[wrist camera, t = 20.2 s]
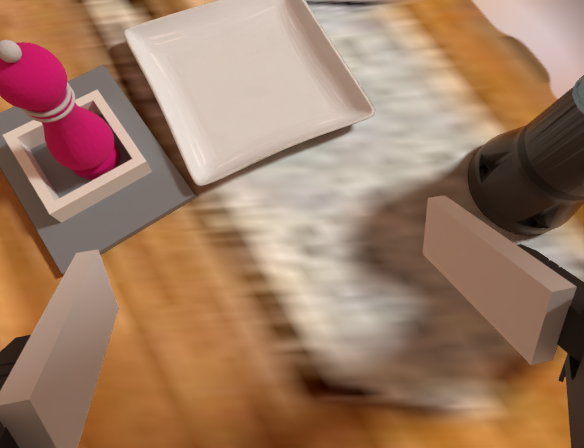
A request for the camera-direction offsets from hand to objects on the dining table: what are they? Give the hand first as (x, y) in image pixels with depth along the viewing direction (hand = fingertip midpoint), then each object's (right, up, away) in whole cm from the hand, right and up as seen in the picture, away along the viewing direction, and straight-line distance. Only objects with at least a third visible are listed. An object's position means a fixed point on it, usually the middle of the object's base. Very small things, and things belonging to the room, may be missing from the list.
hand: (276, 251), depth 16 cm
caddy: (-26, +9, +36) cm, 46 cm away
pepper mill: (-25, +10, +35) cm, 44 cm away
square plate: (-6, +22, +43) cm, 48 cm away
